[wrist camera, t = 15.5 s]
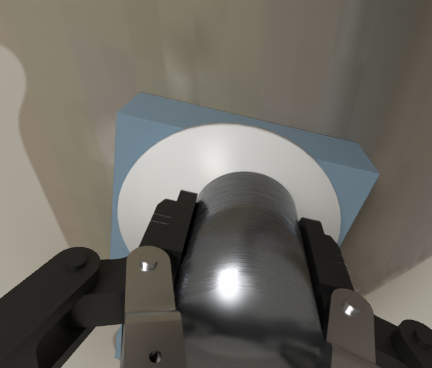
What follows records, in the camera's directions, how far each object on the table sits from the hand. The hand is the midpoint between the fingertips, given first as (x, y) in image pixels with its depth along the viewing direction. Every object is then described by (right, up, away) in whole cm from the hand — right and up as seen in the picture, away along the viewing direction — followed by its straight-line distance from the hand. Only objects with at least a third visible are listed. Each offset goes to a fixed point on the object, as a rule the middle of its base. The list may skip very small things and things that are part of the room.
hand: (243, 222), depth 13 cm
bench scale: (-1, 0, +10) cm, 11 cm away
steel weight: (0, 0, 0) cm, 1 cm away
